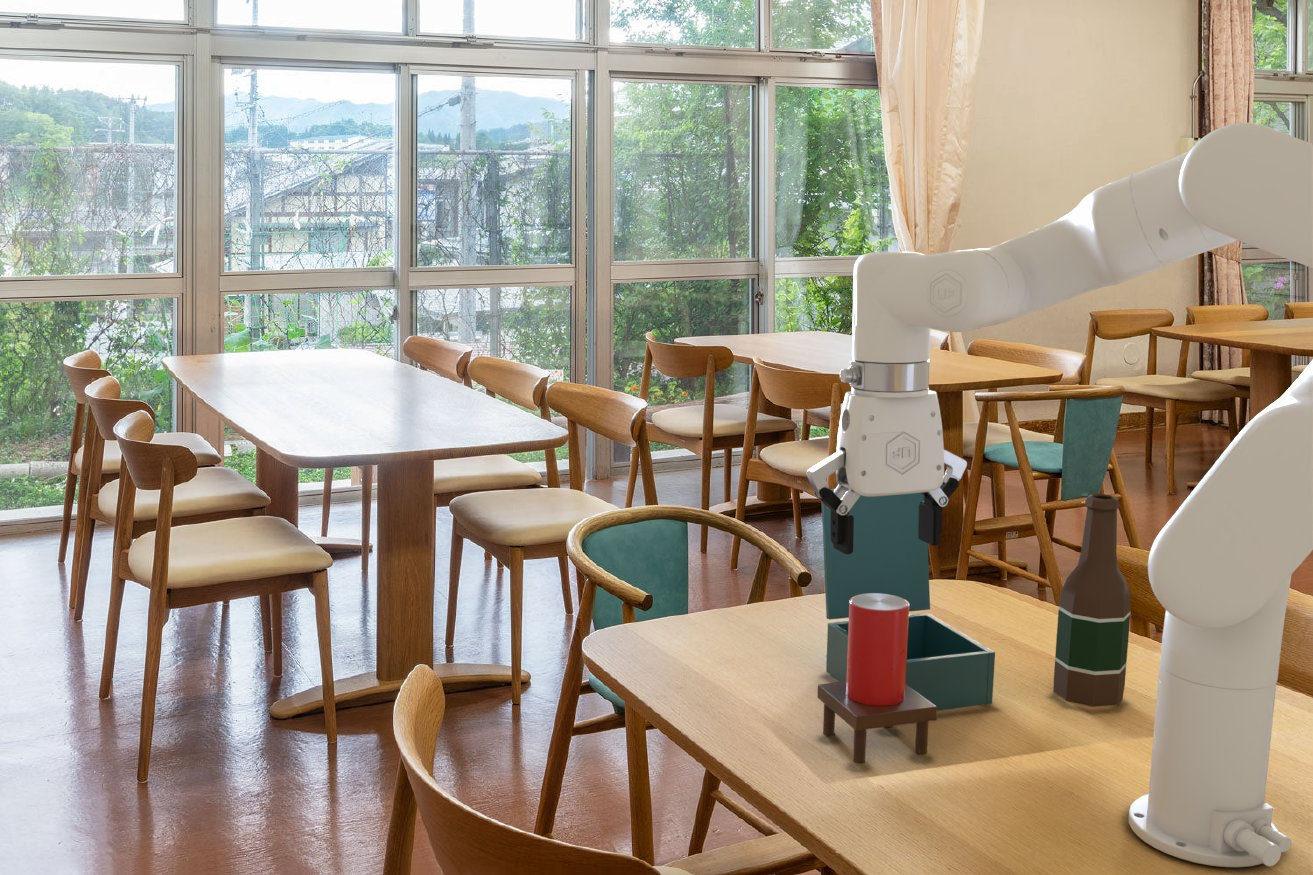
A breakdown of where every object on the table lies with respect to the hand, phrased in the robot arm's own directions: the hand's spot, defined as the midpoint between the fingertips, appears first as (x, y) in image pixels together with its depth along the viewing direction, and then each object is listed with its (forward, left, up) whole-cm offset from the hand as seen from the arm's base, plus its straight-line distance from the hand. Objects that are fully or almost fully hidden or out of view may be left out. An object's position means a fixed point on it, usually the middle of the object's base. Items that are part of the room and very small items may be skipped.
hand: (886, 546), depth 128 cm
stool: (0, 0, -22) cm, 22 cm away
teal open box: (+13, -11, -22) cm, 28 cm away
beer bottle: (+5, -30, -22) cm, 37 cm away
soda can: (0, 0, -16) cm, 16 cm away
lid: (+21, -11, -7) cm, 25 cm away
